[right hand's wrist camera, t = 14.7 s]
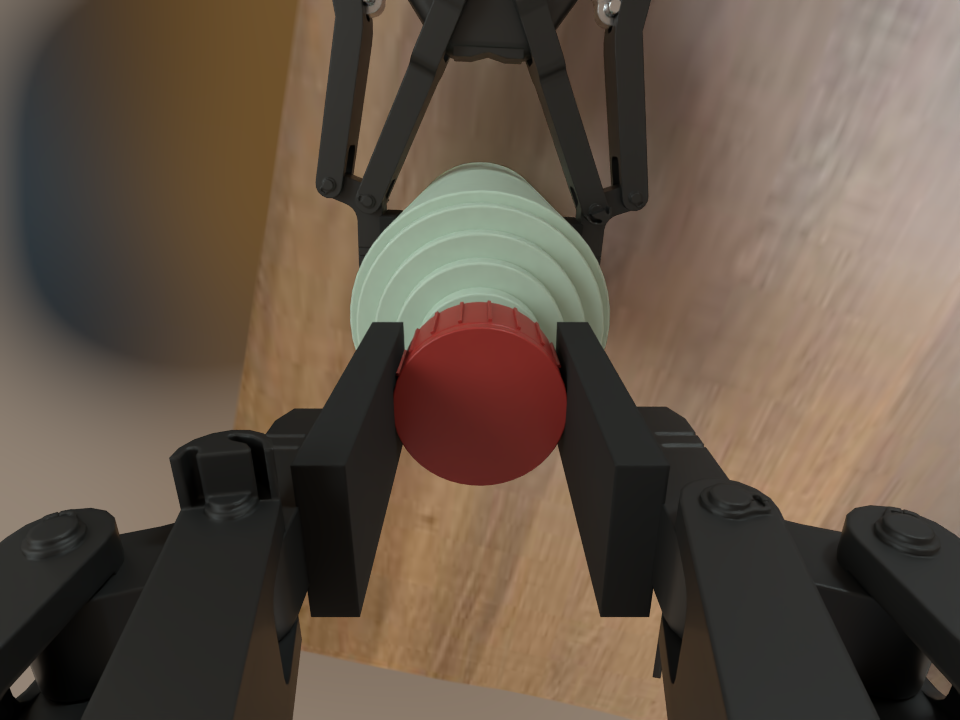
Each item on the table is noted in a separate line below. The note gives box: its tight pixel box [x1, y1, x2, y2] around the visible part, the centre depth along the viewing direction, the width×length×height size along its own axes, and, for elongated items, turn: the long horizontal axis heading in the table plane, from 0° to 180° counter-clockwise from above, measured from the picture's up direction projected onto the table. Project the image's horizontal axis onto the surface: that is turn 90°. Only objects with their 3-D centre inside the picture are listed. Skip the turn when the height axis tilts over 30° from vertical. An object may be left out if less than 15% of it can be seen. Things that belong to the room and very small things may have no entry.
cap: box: [393, 300, 567, 486], centre depth 13 cm, size 4×4×2 cm
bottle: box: [350, 162, 610, 350], centre depth 24 cm, size 8×8×24 cm
